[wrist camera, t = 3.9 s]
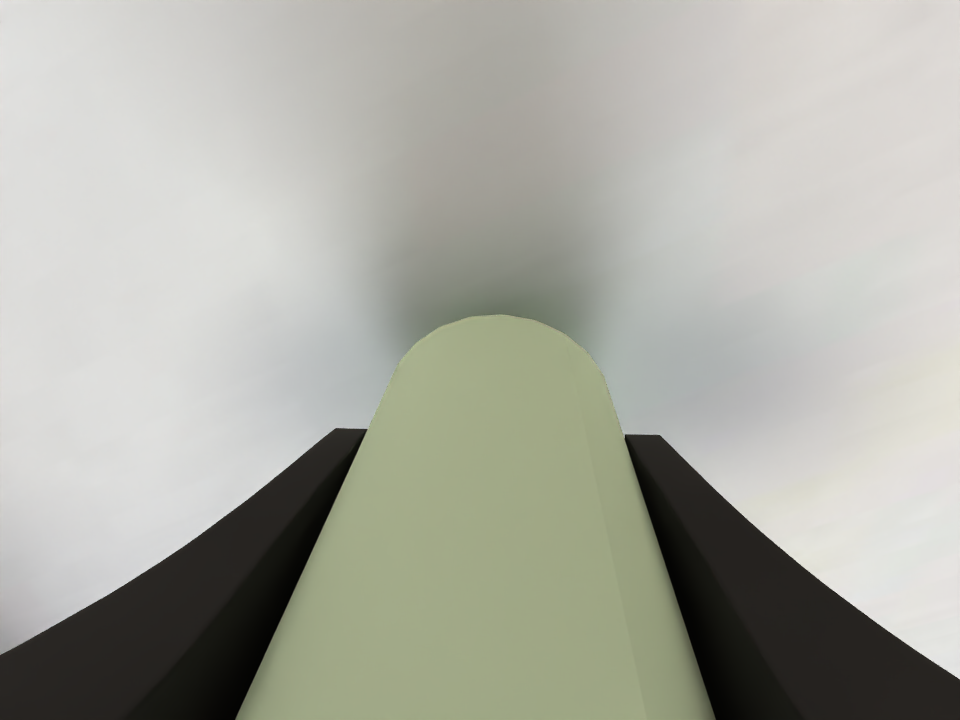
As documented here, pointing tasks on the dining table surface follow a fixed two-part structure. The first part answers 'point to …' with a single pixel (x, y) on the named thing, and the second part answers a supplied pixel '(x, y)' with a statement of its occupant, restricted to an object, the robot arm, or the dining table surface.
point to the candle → (486, 554)
